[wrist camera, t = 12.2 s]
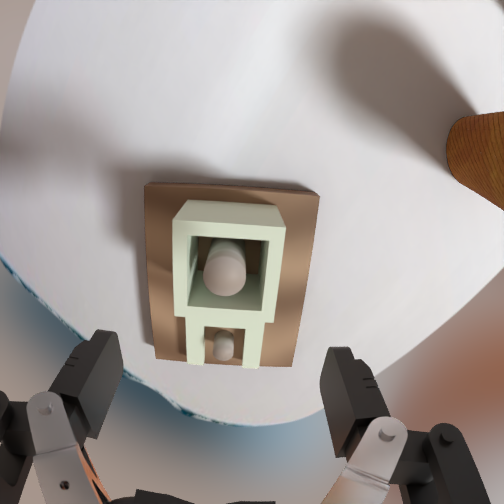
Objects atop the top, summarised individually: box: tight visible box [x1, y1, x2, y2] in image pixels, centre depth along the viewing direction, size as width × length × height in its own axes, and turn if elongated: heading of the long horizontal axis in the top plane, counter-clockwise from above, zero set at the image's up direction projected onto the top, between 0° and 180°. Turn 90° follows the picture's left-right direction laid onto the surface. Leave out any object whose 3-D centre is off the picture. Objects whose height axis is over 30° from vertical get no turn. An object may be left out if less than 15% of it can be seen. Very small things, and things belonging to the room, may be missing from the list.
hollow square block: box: [172, 200, 286, 369], centre depth 21 cm, size 14×6×5 cm, turn 175°
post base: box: [144, 182, 320, 367], centre depth 22 cm, size 15×12×6 cm
